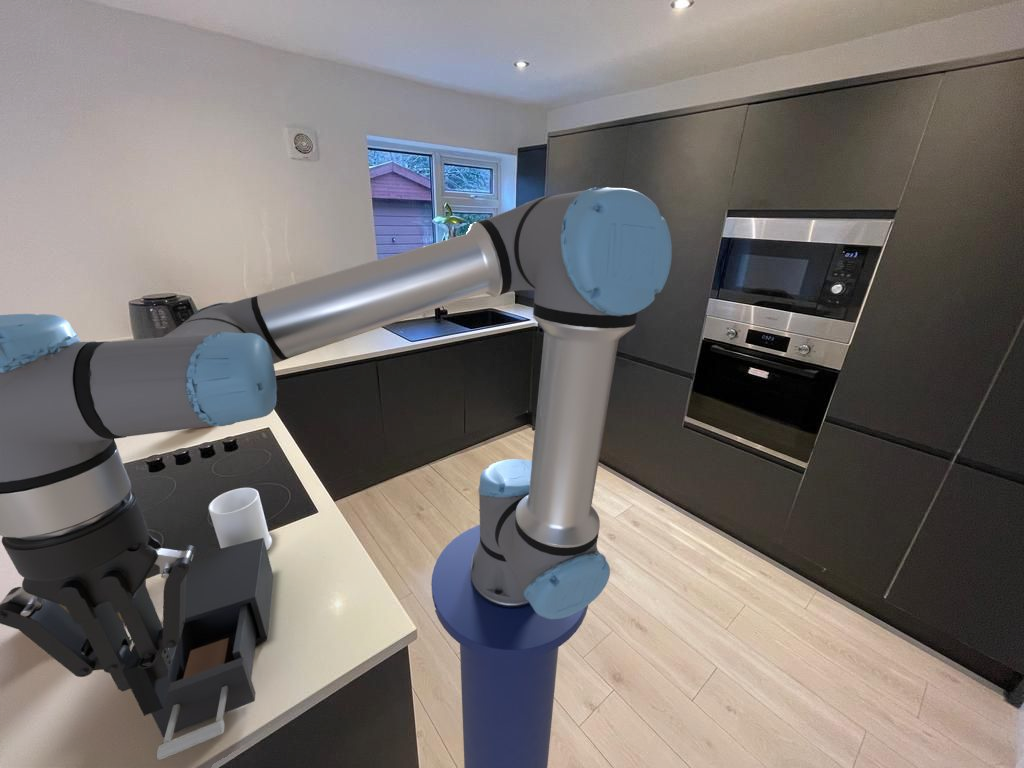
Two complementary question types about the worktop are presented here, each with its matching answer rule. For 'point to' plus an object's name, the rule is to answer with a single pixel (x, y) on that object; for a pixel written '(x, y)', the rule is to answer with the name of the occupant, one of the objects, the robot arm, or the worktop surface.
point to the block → (209, 657)
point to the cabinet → (231, 583)
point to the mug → (239, 518)
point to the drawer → (207, 679)
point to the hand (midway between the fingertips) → (157, 698)
